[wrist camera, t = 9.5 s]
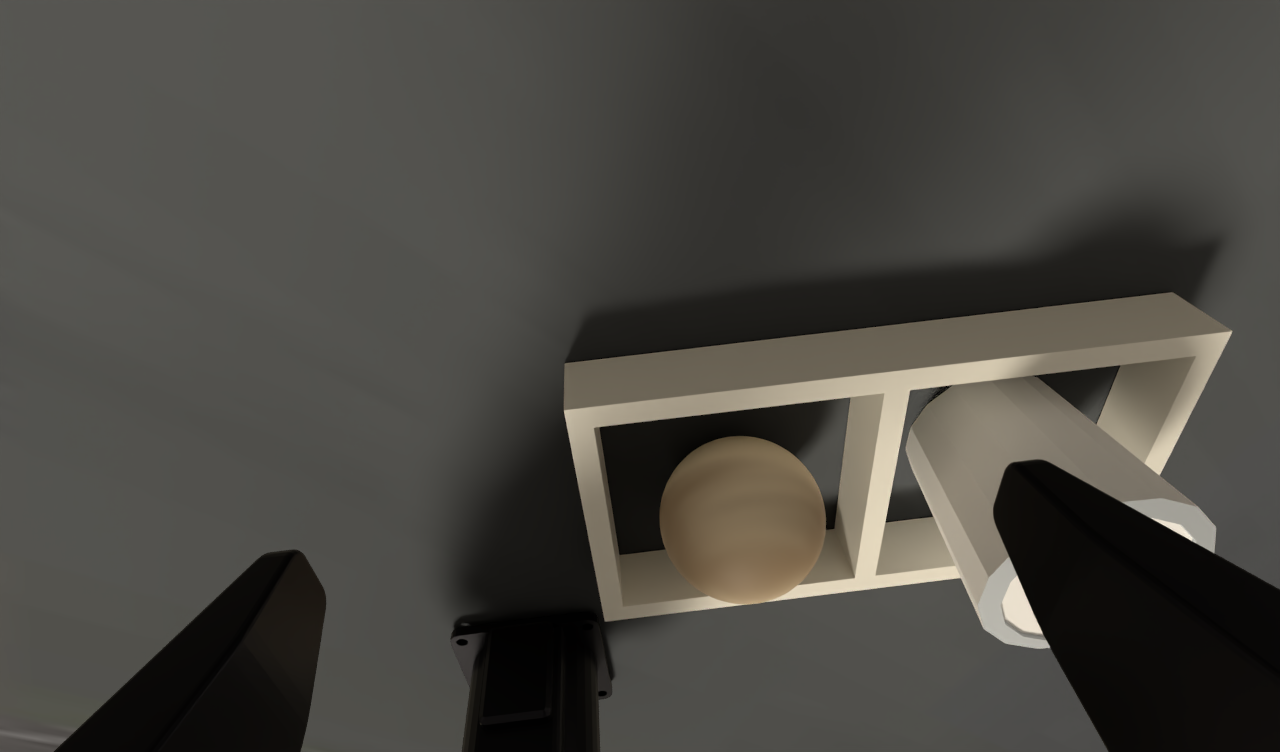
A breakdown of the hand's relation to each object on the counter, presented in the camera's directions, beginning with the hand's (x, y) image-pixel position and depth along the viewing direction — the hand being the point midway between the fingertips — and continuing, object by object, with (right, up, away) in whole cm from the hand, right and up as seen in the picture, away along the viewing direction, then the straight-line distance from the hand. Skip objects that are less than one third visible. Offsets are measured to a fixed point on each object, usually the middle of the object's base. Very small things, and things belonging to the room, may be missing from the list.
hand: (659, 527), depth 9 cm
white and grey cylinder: (+13, 0, +17) cm, 21 cm away
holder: (+8, -1, +17) cm, 18 cm away
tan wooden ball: (+3, -1, +17) cm, 17 cm away
